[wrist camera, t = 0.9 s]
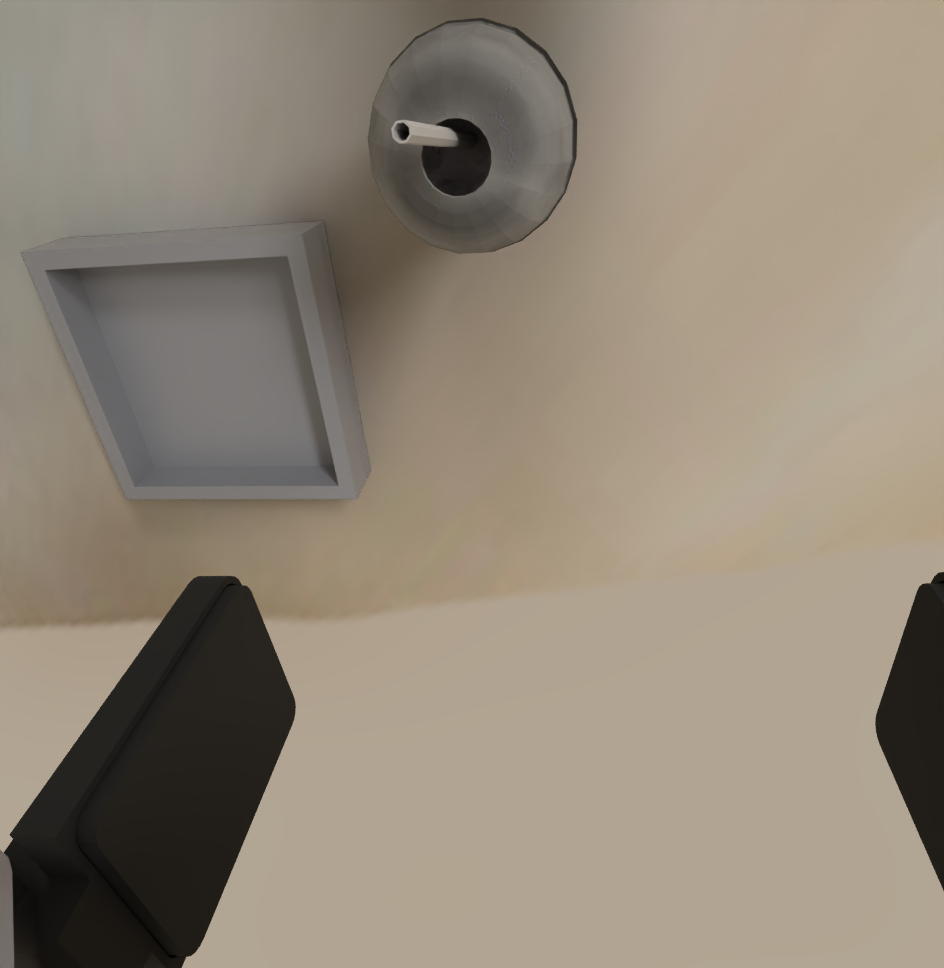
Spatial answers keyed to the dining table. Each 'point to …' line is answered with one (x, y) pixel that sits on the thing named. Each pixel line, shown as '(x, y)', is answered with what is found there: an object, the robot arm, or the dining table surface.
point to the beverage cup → (472, 136)
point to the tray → (210, 359)
